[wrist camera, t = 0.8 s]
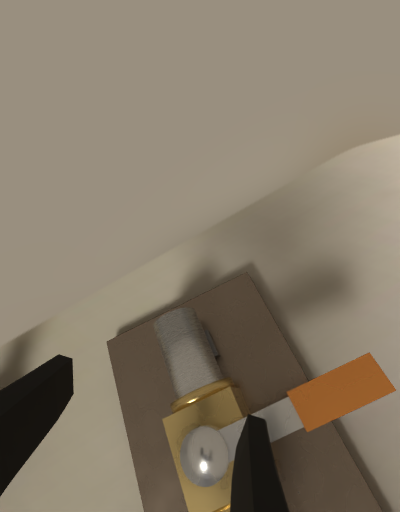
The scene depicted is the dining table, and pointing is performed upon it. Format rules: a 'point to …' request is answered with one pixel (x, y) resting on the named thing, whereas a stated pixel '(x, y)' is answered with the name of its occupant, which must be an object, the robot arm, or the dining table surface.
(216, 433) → the valve lever
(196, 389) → the valve manifold
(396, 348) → the dining table surface
